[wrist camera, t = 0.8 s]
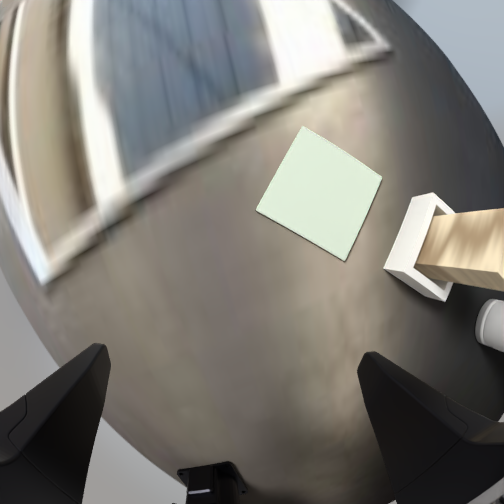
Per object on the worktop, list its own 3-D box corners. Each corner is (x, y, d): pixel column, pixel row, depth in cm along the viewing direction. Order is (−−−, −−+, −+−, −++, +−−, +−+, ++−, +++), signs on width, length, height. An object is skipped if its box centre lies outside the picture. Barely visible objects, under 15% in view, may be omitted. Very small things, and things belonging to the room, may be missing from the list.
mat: (343, 260, 24) (344, 260, 24) (255, 210, 24) (255, 210, 23) (380, 178, 25) (382, 177, 24) (301, 127, 24) (302, 125, 23)
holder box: (424, 296, 25) (445, 301, 22) (383, 268, 25) (403, 271, 21) (449, 230, 26) (470, 229, 22) (412, 197, 25) (433, 192, 21)
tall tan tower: (421, 276, 25) (514, 293, 13) (400, 261, 25) (497, 272, 13) (437, 235, 25) (529, 233, 13) (417, 218, 25) (512, 207, 13)
